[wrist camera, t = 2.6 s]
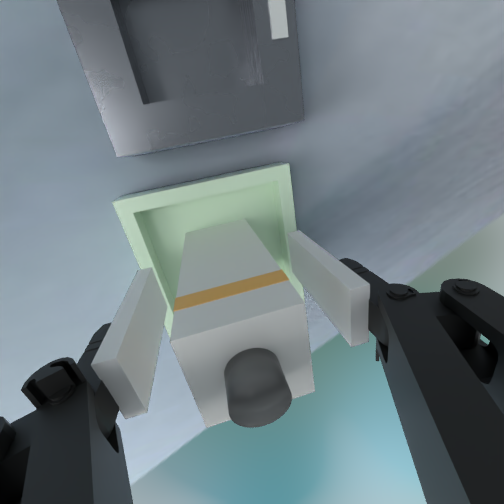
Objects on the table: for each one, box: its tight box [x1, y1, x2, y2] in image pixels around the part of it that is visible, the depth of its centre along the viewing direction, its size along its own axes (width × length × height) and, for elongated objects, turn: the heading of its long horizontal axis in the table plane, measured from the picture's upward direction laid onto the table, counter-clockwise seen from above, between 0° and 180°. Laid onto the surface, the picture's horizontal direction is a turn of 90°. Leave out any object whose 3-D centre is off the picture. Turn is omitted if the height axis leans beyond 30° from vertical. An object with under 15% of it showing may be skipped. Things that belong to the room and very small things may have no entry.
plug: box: [170, 219, 315, 428], centre depth 12 cm, size 4×4×11 cm
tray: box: [112, 162, 305, 337], centre depth 16 cm, size 10×10×2 cm
